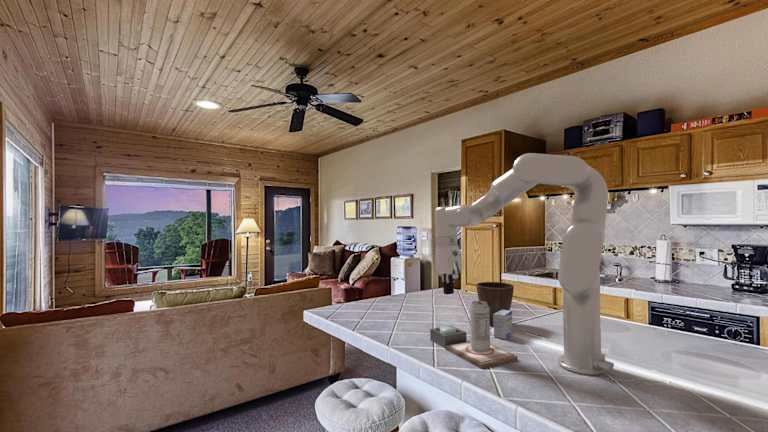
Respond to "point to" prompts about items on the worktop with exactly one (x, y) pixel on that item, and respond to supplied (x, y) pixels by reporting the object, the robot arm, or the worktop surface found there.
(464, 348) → the sketch board
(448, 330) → the button
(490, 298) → the plant pot
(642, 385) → the worktop surface
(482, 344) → the energy drink can
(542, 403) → the worktop surface
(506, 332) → the medicine box
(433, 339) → the button housing
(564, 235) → the robot arm
